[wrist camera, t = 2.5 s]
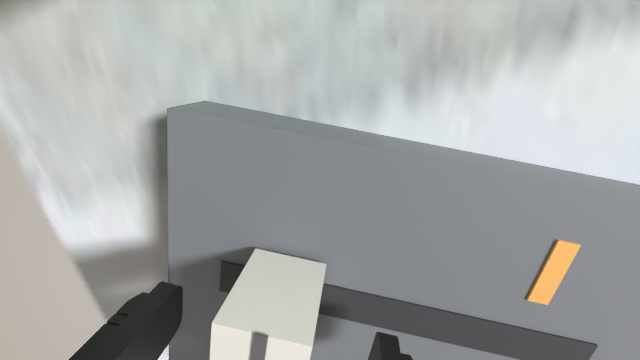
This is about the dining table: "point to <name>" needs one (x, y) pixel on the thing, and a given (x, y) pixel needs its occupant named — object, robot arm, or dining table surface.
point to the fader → (270, 310)
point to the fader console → (402, 240)
